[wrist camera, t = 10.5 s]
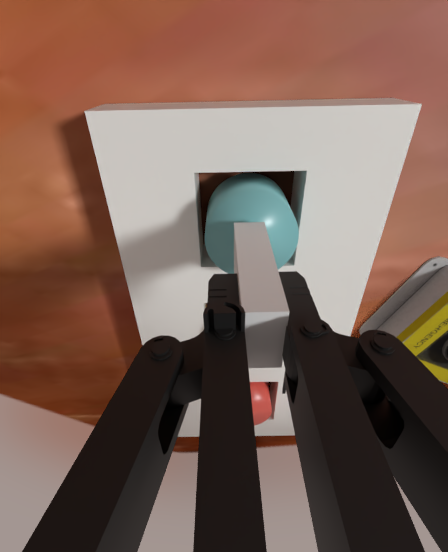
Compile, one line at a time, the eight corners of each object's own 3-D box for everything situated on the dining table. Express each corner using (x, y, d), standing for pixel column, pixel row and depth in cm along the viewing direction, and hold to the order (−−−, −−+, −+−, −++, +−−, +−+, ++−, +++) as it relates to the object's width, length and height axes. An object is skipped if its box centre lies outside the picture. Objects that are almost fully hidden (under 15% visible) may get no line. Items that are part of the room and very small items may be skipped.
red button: (268, 362, 29) (273, 395, 26) (265, 393, 32) (269, 426, 29) (215, 362, 29) (215, 395, 26) (217, 394, 32) (217, 427, 29)
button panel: (393, 97, 17) (421, 103, 14) (312, 408, 34) (319, 434, 32) (104, 103, 17) (84, 111, 15) (169, 410, 34) (165, 437, 32)
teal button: (291, 171, 18) (304, 193, 15) (283, 247, 21) (293, 277, 18) (205, 173, 18) (201, 195, 15) (209, 248, 21) (207, 278, 18)
